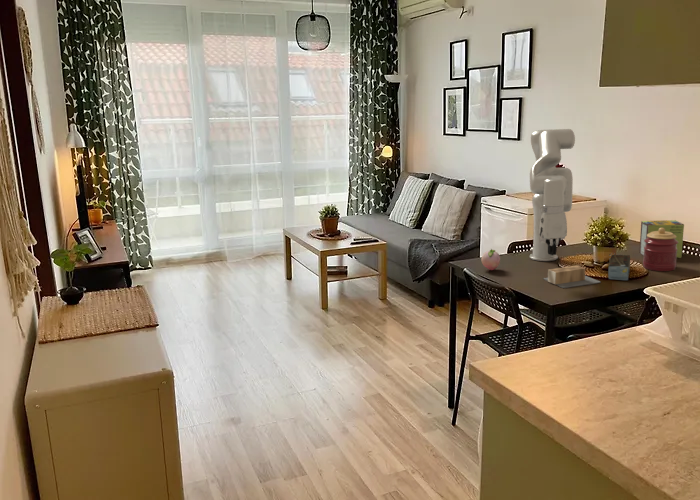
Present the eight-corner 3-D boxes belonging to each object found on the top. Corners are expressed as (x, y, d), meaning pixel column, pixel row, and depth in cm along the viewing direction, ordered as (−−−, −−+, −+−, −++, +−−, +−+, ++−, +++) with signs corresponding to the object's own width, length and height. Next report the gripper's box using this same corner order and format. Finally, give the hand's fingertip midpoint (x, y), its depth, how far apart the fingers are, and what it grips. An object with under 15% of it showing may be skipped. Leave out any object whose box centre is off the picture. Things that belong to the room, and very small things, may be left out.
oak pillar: (548, 269, 242) (577, 265, 245) (547, 281, 243) (577, 276, 246) (555, 272, 237) (585, 268, 240) (554, 284, 238) (584, 280, 241)
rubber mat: (542, 279, 247) (543, 278, 247) (579, 274, 251) (579, 273, 251) (563, 288, 234) (563, 287, 234) (600, 282, 238) (600, 281, 238)
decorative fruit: (481, 267, 269) (481, 246, 267) (500, 267, 267) (500, 246, 265) (480, 273, 260) (480, 251, 258) (500, 273, 258) (500, 251, 256)
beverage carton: (607, 279, 243) (607, 264, 241) (610, 267, 259) (610, 253, 258) (628, 281, 239) (629, 265, 238) (630, 269, 256) (630, 254, 254)
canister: (677, 272, 246) (680, 231, 242) (642, 270, 251) (645, 230, 247) (675, 264, 257) (678, 225, 253) (642, 262, 263) (644, 224, 259)
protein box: (682, 257, 267) (684, 224, 264) (645, 258, 270) (648, 225, 266) (673, 252, 277) (676, 219, 274) (638, 252, 280) (640, 220, 276)
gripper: (541, 213, 228) (540, 258, 232) (575, 209, 231) (573, 254, 236) (531, 210, 235) (530, 254, 239) (564, 206, 238) (562, 250, 243)
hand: (552, 254), depth 238 cm, fingers closed
